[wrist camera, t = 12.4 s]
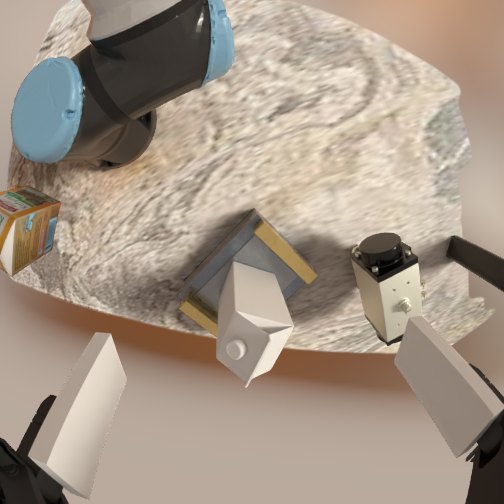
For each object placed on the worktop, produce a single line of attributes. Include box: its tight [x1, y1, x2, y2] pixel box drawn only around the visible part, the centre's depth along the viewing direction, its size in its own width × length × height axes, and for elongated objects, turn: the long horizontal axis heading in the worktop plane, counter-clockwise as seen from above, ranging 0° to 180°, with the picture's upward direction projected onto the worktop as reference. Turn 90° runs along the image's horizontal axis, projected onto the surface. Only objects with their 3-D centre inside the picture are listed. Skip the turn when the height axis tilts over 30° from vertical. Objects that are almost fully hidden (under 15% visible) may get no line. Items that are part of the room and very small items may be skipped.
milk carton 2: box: [216, 261, 294, 388], centre depth 35 cm, size 7×7×19 cm
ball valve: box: [351, 233, 427, 346], centre depth 42 cm, size 18×8×18 cm, turn 22°
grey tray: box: [177, 208, 317, 337], centre depth 46 cm, size 18×19×8 cm
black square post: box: [447, 236, 504, 292], centre depth 37 cm, size 6×6×30 cm
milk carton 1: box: [0, 185, 61, 276], centre depth 33 cm, size 11×11×19 cm
